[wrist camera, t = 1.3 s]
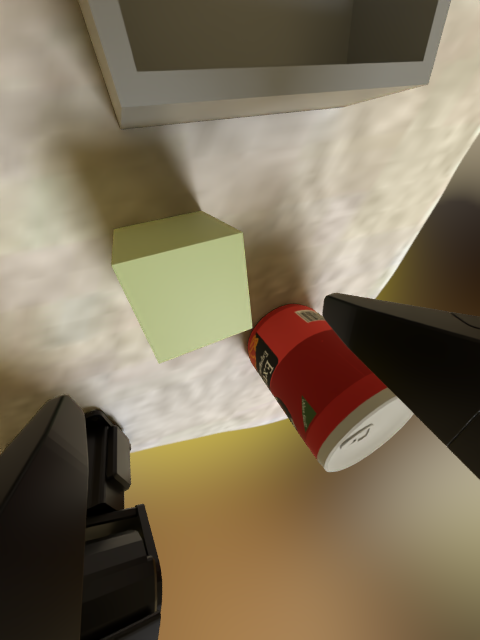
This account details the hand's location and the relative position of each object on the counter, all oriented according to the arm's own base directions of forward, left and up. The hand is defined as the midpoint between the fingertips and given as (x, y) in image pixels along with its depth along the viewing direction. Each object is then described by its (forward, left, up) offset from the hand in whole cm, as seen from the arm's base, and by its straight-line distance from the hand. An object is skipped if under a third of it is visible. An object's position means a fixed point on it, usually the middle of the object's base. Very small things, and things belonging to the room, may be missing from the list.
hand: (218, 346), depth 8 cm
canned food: (+8, -10, -9) cm, 16 cm away
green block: (0, 0, -9) cm, 9 cm away
